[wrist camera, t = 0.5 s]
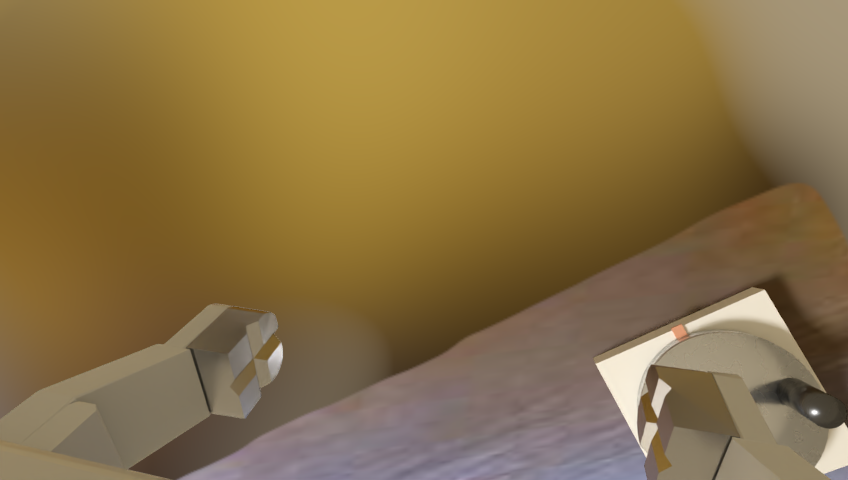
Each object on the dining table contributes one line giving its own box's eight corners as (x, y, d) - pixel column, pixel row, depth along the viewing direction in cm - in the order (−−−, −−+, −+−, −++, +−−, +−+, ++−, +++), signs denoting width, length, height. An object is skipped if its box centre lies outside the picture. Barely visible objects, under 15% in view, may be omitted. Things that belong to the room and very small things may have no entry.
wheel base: (847, 446, 52) (867, 460, 49) (674, 508, 56) (682, 525, 53) (750, 284, 54) (764, 287, 51) (591, 355, 58) (594, 362, 55)
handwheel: (686, 513, 53) (713, 560, 45) (608, 368, 55) (620, 389, 47) (852, 454, 49) (912, 494, 41) (761, 302, 51) (802, 312, 43)
